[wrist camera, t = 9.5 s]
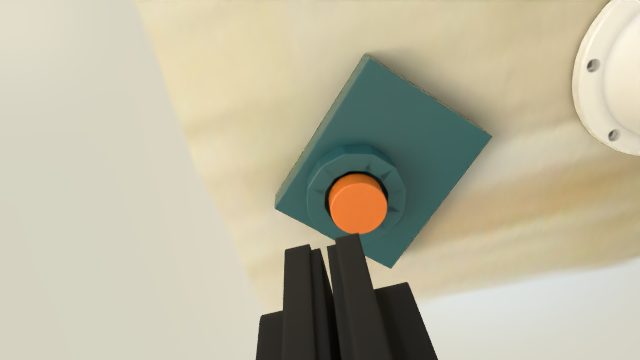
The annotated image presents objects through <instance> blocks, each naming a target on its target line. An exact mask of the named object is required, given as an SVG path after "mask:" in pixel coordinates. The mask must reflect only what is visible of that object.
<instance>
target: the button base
mask: <svg viewBox="0 0 640 360" xmlns="http://www.w3.org/2000/svg"><path fill="white" fill-rule="evenodd" d="M491 138H492V136H491V135H490V134H488V133H487V132H486V131H484V130H483V129H482V128H480V127H479V126H477V125H476V124H474V123H473V122H471V121H469V120H468V119H466V118H465V117H463V116H462V115H460V114H459V113H457V112H455V111H454V110H452V109H451V108H449V107H448V106H446V105H445V104H443V103H441V102H440V101H438V100H437V99H435V98H434V97H432V96H431V95H429V94H428V93H426V92H424V91H423V90H421V89H420V88H418V87H417V86H415V85H414V84H412V83H410V82H409V81H407V80H406V79H404V78H403V77H401V76H400V75H398V74H396V73H395V72H393V71H392V70H390V69H389V68H387V67H386V66H384V65H382V64H381V63H379V62H378V61H376V60H375V59H373V58H372V57H370V56H369V55H367V54H364V56H363V57H362V59H361V61H360V62H359V64H358V65H357V67H356V68H355V70H354V72H353V73H352V75H351V76H350V78H349V80H348V81H347V83H346V84H345V86H344V88H343V89H342V91H341V92H340V94H339V96H338V97H337V99H336V100H335V102H334V103H333V105H332V107H331V108H330V110H329V111H328V113H327V115H326V116H325V118H324V119H323V121H322V123H321V124H320V126H319V127H318V129H317V131H316V132H315V134H314V135H313V137H312V138H311V140H310V142H309V143H308V145H307V146H306V148H305V150H304V151H303V153H302V154H301V156H300V158H299V159H298V161H297V162H296V164H295V166H294V167H293V169H292V170H291V172H290V173H289V175H288V177H287V178H286V180H285V181H284V183H283V185H282V186H281V188H280V189H279V191H278V193H277V194H276V198H275V209H277V210H279V211H281V212H283V213H284V214H286V215H288V216H290V217H292V218H294V219H296V220H298V221H300V222H302V223H304V224H306V225H308V226H309V227H311V228H313V229H315V230H317V231H319V232H320V233H322V234H324V235H326V236H328V237H330V238H332V239H333V240H335V238H337V237H341V236H346V235H350V234H351V233H348V232H345V231H343V230H342V229H340V228H339V227H338V226H337V225H336V224H335V223H334V221H333V219H332V216H331V211H330V205H329V194H330V191H331V189H332V187H333V185H334V184H335V183H336V182H337V181H338V180H339V179H340V178H342V177H344V176H346V175H349V174H354V173H360V174H365V175H368V176H370V177H372V178H374V179H375V180H376V181H377V182H378V183H379V185H380V187H381V189H382V191H383V194H384V196H385V198H386V201H387V213H386V216H385V218H384V220H383V221H382V223H381V224H380V225H379V226H378V227H377V228H375V229H374V230H372V231H370V232H367V233H364V234H359V236H360V240H361V244H362V248H363V252H364V255H365V256H367V257H369V258H371V259H373V260H375V261H377V262H379V263H381V264H383V265H385V266H387V267H388V268H392V267H393V265H394V264H395V263H396V262H397V260H398V259H399V258H400V256H401V255H402V254H403V252H404V251H405V250H406V249H407V247H408V246H409V245H410V243H411V242H412V241H413V239H414V238H415V237H416V235H417V234H418V233H419V232H420V230H421V229H422V228H423V226H424V225H425V224H426V222H427V221H428V220H429V218H430V217H431V216H432V215H433V213H434V212H435V211H436V209H437V208H438V207H439V205H440V204H441V203H442V202H443V200H444V199H445V198H446V196H447V195H448V194H449V192H450V191H451V190H452V188H453V187H454V186H455V185H456V183H457V182H458V181H459V179H460V178H461V177H462V175H463V174H464V173H465V172H466V170H467V169H468V168H469V166H470V165H471V164H472V162H473V161H474V160H475V158H476V157H477V156H478V155H479V153H480V152H481V151H482V149H483V148H484V147H485V145H486V144H487V143H488V142H489V140H490V139H491Z"/></svg>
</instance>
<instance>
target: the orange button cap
mask: <svg viewBox="0 0 640 360" xmlns="http://www.w3.org/2000/svg"><path fill="white" fill-rule="evenodd" d="M329 205H330V211H331V216H332V219H333V221H334V223H335V224H336V225H337V226H338V227H339V228H340V229H342V230H343V231H345V232H348V233H351V234H354V233H359V234H364V233H367V232H370V231H372V230H374V229H375V228H377V227H378V226H379V225H380V224H381V223H382V221H383V220H384V218H385V216H386V213H387V201H386V198H385V196H384V194H383V191H382V189H381V187H380V185H379V183H378V182H377V181H376V180H375V179H374V178H372V177H370V176H368V175H365V174H360V173H354V174H349V175H346V176H344V177H342V178H340V179H339V180H338V181H337V182H336V183H335V184H334V185H333V187H332V189H331V191H330V194H329Z"/></svg>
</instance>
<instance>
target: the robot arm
mask: <svg viewBox="0 0 640 360" xmlns="http://www.w3.org/2000/svg"><path fill="white" fill-rule="evenodd" d="M588 63H589V64H588ZM587 65H588V66H587ZM572 95H573V100H574V104H575V109H576V111H577V114H578V116H579V118H580V120H581V122H582V124H583V125H584V126H585V128H586V129H587V130H588V132H589V133H590V134H591V135H592V136H594V137H595V138H596V139H597V140H599V141H600V142H601V143H603V144H605V145H607V146H609V147H611V148H613V149H614V150H617V151H620V152H623V153H626V154H630V155H639V156H640V0H611V1H610V2H609V3H608V4H607V5H606V6H605V7H604V8H603V10H602V11H601V12H600V13H599V15H598V16H597V17H596V19H595V20H594V21H593V23H592V24H591V26H590V28H589V29H588V31H587V33H586V35H585V37H584V38H583V40H582V43H581V45H580V48H579V51H578V54H577V56H576V59H575V64H574V70H573V75H572ZM335 242H336V245H331V246H327V251H328V259H329V266H330V274H331V282H332V290H333V293H332V290H331V286H330V282H329V279H328V275H327V271H326V268H325V264H324V260H323V257H322V253H321V250H320V248H318V249H314V250H311V247H310V245H309V244H307V245H303V246H299V247H295V248H290V249H286V250H285V263H284V294H283V311H278V312H274V313H270V314H265V315H262V316H261V318H260V323H259V333H258V344H257V353H256V360H438V358H437V356H436V353H435V351H434V348H433V346H432V343H431V340H430V338H429V335H428V333H427V330H426V327H425V325H424V323H423V320H422V317H421V315H420V312H419V309H418V307H417V304H416V302H415V299H414V297H413V294H412V291H411V289H410V286H409V284H408V283H407V282H405V283H400V284H396V285H392V286H387V287H383V288H379V289H373V286H372V282H371V278H370V274H369V270H368V267H367V263H366V259H365V255H364V252H363V248H362V244H361V240H360V236H359V233H354V234H350V235H346V236H341V237H337V238H335Z"/></svg>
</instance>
